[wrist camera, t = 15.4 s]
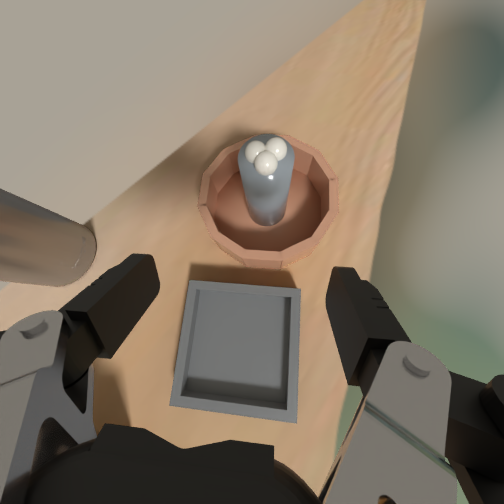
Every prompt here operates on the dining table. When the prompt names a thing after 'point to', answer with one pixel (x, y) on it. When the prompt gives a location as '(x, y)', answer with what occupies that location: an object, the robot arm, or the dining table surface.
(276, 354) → the parts tray
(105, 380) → the dining table surface
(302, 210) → the bowl
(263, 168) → the pebble cup
